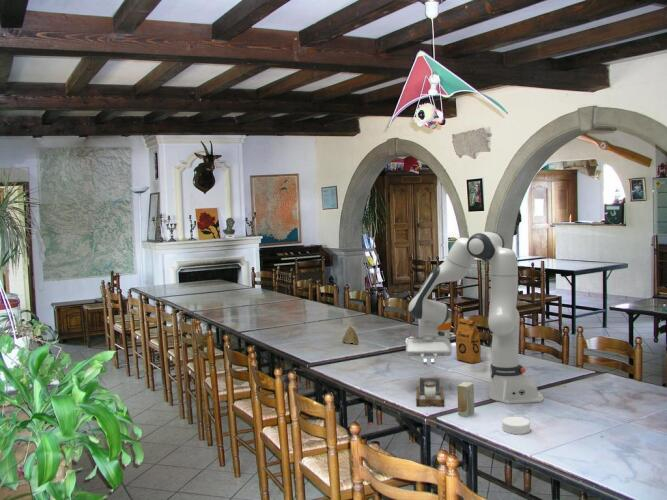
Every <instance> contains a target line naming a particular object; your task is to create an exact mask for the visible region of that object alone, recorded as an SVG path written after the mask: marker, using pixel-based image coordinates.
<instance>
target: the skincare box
mask: <svg viewBox="0 0 667 500" xmlns="http://www.w3.org/2000/svg"><path fill="white" fill-rule="evenodd" d="M474 387H475V385H474V382H470V381H469V382H468V381H462V382H460V383H458V384H457V387H456V388H457V393H456V394H457V415H458V416H462V417H469V416H471V415H472V414H474V413H475V391H474Z"/></svg>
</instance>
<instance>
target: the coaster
mask: <svg viewBox="0 0 667 500" xmlns="http://www.w3.org/2000/svg"><path fill="white" fill-rule="evenodd" d="M501 423H502V424H501V425H502V427H501V428H502V430H503V431H504V432H505V433H507V434H510V435H512V434H513V435H524V434H528V433H529V432H531V422H530V421H529V419H527V418H524V417H520V416H509V417H508V416H507V417H505V418H503V419H502V421H501Z"/></svg>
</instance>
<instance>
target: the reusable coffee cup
mask: <svg viewBox="0 0 667 500" xmlns="http://www.w3.org/2000/svg"><path fill="white" fill-rule="evenodd" d="M452 318H453V315H452V312H451V311H449V318H448V320H447V321H446V322H445V323H444V324H442V325H441V326H438V327H437V330H439V331H442V332H446V333H447V334H448V338H450V336H451V335H450V333H451V329H452Z"/></svg>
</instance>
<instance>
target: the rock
mask: <svg viewBox="0 0 667 500" xmlns="http://www.w3.org/2000/svg"><path fill="white" fill-rule="evenodd" d="M342 342H345V343H353V344H352V345H359V344H358V343H359V337H358V334H357V333H356V331H355V330H354V328H353V327H351V326H348V328H347V329H346V331H345V333H344V336H343V337H342V340H341V343H342ZM345 343H344V344H345Z"/></svg>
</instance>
